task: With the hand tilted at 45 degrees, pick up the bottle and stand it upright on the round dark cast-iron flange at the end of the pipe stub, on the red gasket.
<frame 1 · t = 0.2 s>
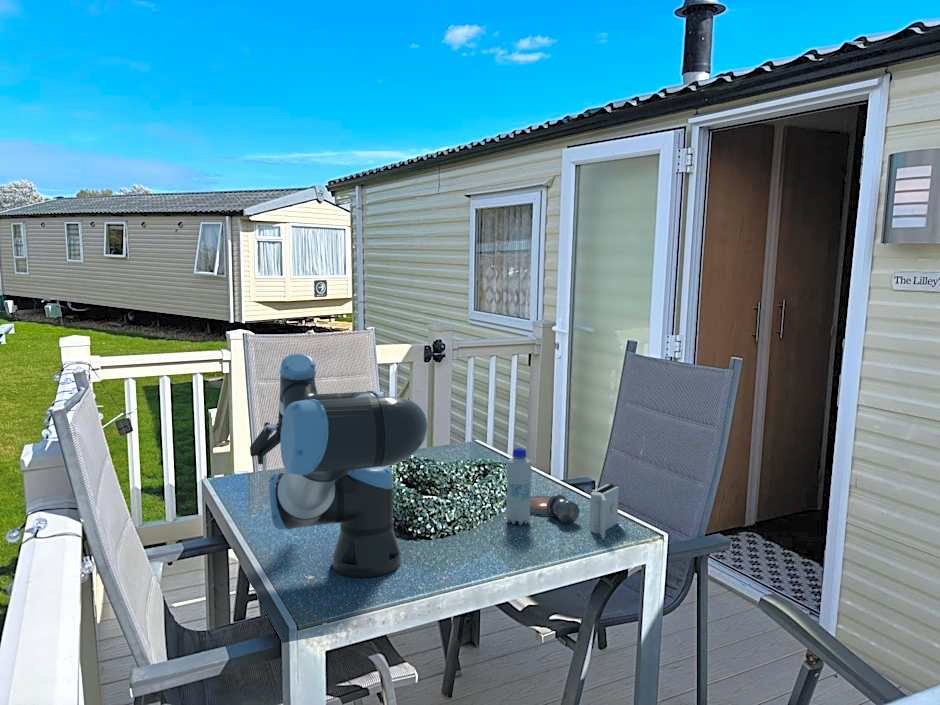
hand: (291, 467, 173), 15 cm above the table, tool tilted 35°, fingers open, 13 cm apart
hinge: (604, 530, 174), on the table
fitting: (544, 507, 190), on the table
bottle: (517, 522, 179), on the table
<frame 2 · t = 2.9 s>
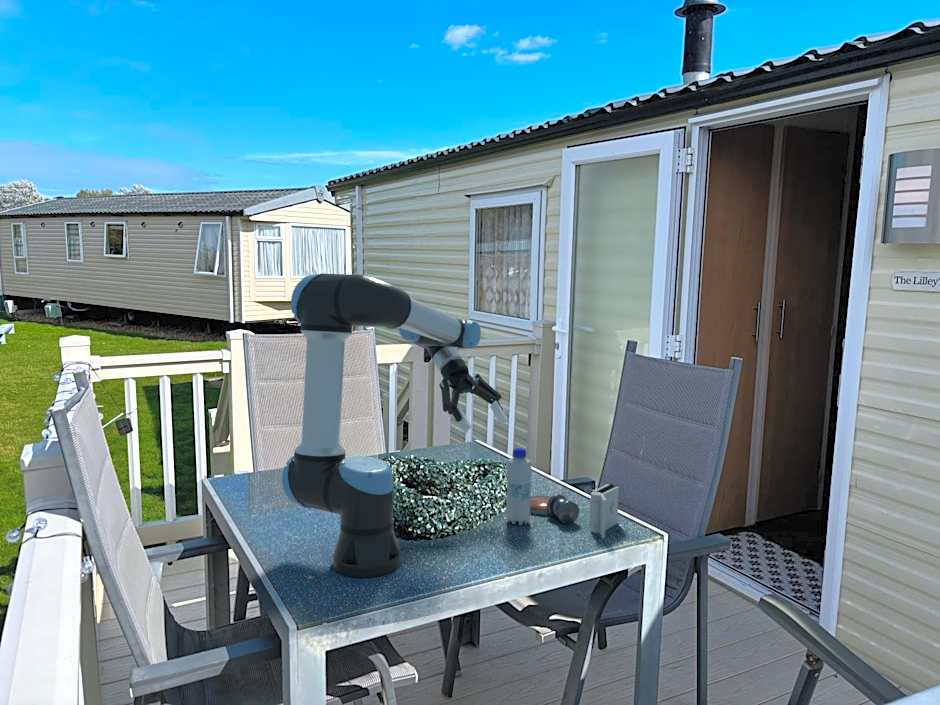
hand: (486, 426, 185), 24 cm above the table, tool tilted 45°, fingers open, 13 cm apart
nothing on the table moved.
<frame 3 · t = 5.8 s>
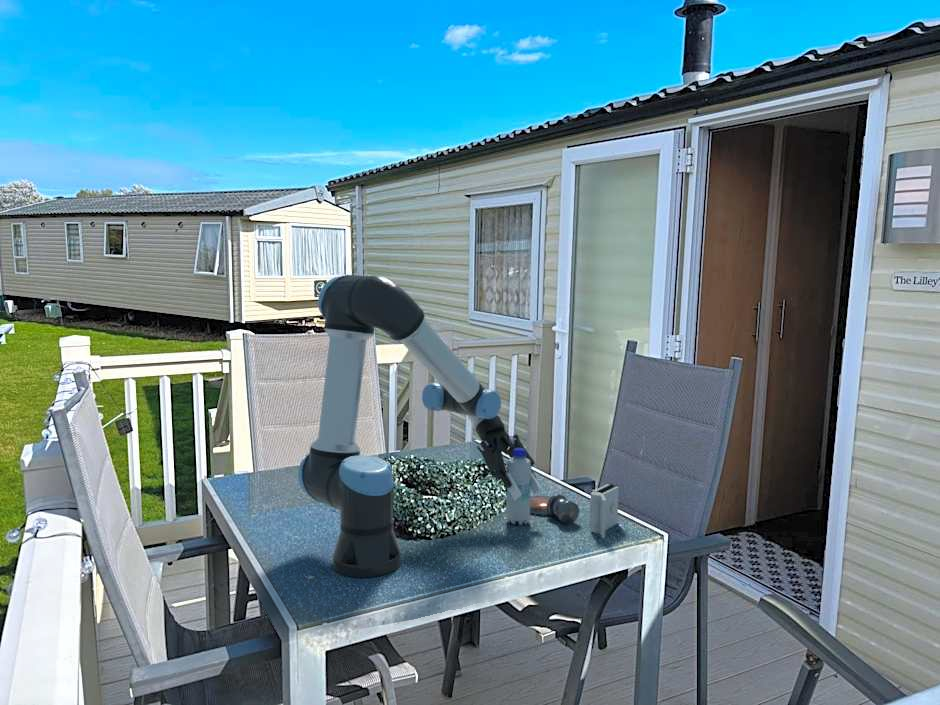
hand: (528, 494, 175), 8 cm above the table, tool tilted 45°, fingers closed on bottle, 7 cm apart
bottle: (517, 522, 179), on the table, touching gripper
everything else where it was.
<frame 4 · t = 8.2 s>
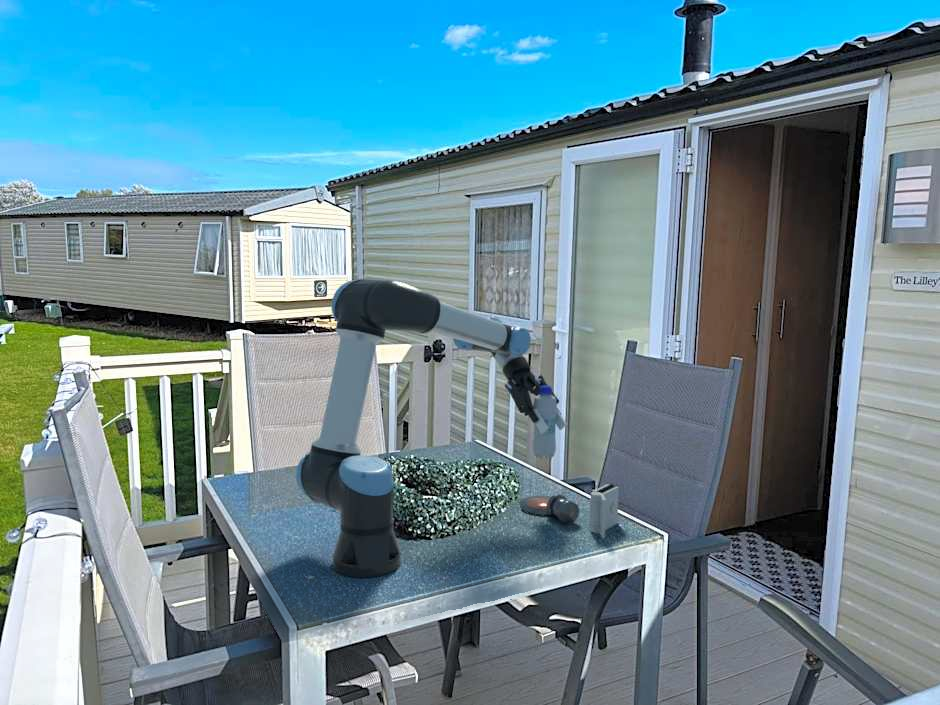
hand: (554, 429, 184), 23 cm above the table, tool tilted 45°, fingers closed on bottle, 7 cm apart
bottle: (544, 457, 188), point 15 cm above the table, touching gripper
everything else where it was.
when the fingers open (11 cm above the table, at t = 10.9 s): bottle drops 1 cm, resting on fitting.
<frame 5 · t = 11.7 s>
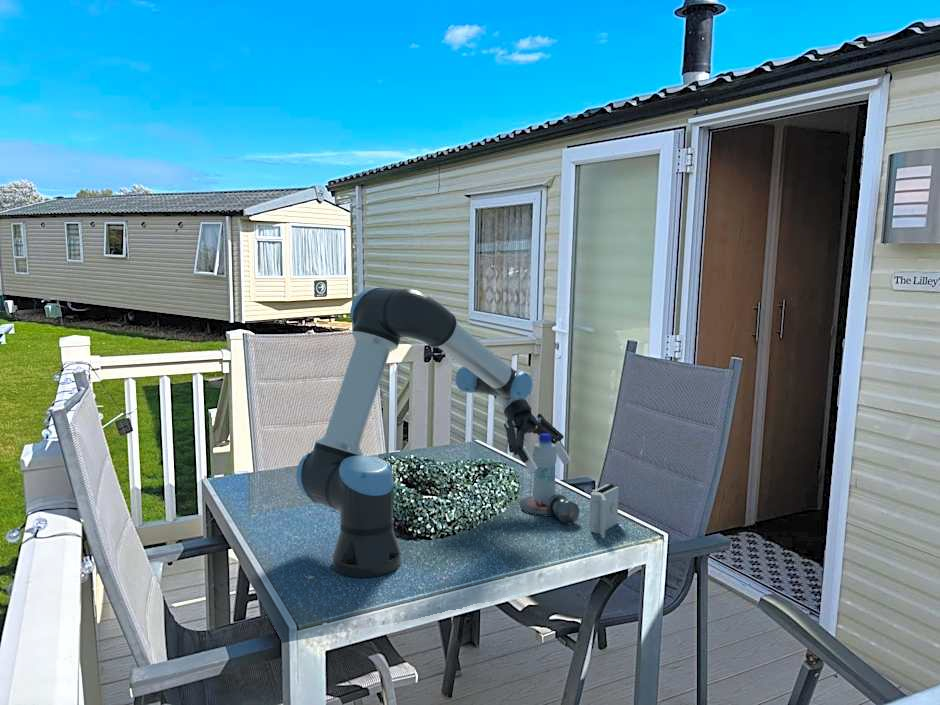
hand: (551, 466, 187), 12 cm above the table, tool tilted 45°, fingers open, 13 cm apart
bottle: (544, 503, 190), point 1 cm above the table, touching fitting
everything else where it was.
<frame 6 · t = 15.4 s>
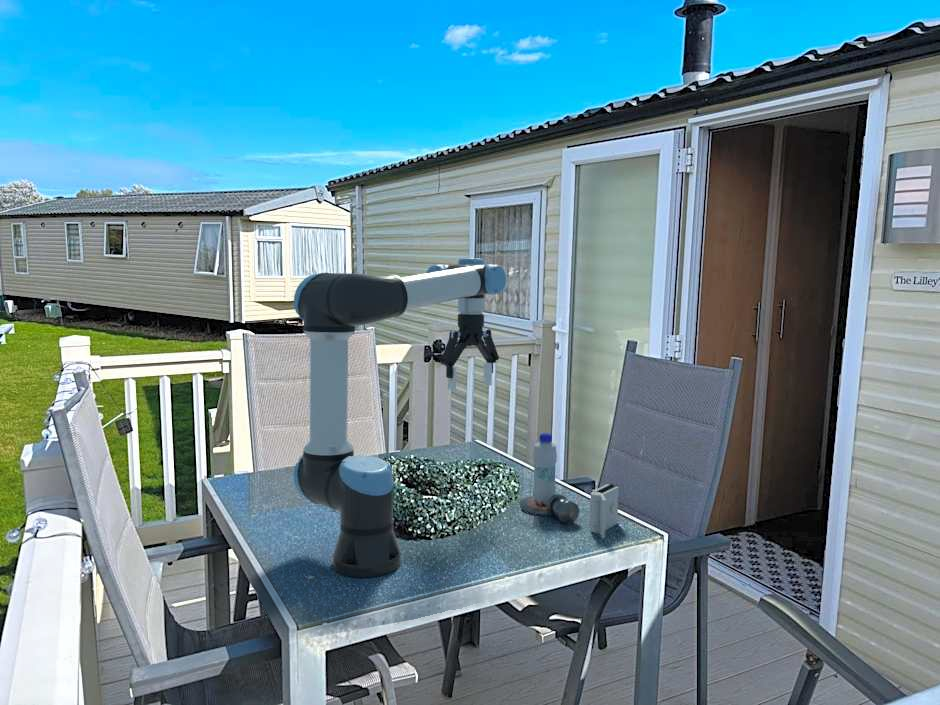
hand: (470, 387, 195), 33 cm above the table, tool pointing down, fingers open, 13 cm apart
nothing on the table moved.
at the end: bottle 0.2 cm from the fitting (horizontally); bottle tilted 0°; the gripper is holding nothing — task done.
